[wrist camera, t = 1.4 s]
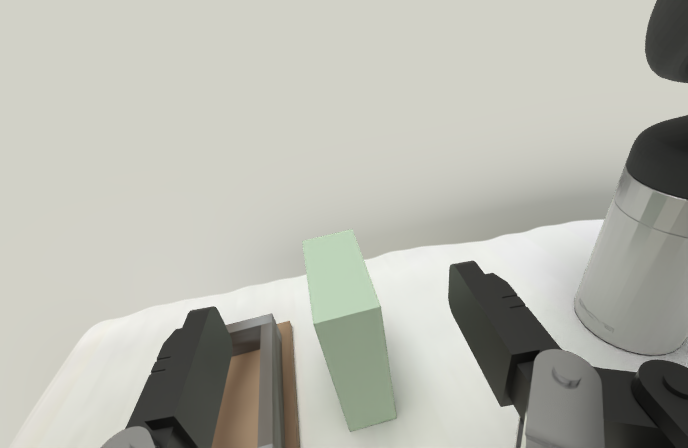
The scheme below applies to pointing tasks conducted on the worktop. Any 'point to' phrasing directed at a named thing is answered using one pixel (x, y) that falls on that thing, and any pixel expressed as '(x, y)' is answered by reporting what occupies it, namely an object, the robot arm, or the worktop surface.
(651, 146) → the robot arm
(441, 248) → the worktop surface
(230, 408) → the gray frame wooden base
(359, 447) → the worktop surface
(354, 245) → the block
